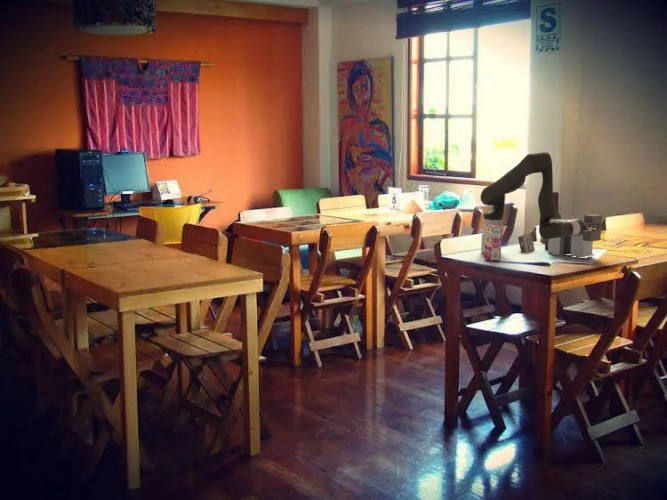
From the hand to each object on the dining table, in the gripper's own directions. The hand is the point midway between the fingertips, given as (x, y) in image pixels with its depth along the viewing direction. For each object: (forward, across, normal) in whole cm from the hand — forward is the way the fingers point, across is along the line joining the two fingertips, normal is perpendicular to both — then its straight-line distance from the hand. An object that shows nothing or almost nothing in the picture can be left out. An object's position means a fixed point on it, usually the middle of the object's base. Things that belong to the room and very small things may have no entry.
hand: (593, 225), depth 369 cm
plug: (-1, 0, +7) cm, 7 cm away
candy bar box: (-35, +32, +18) cm, 50 cm away
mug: (+35, +45, +18) cm, 60 cm away
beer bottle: (+13, +32, +18) cm, 39 cm away
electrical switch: (-1, +38, +18) cm, 42 cm away
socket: (+5, +16, +18) cm, 24 cm away
